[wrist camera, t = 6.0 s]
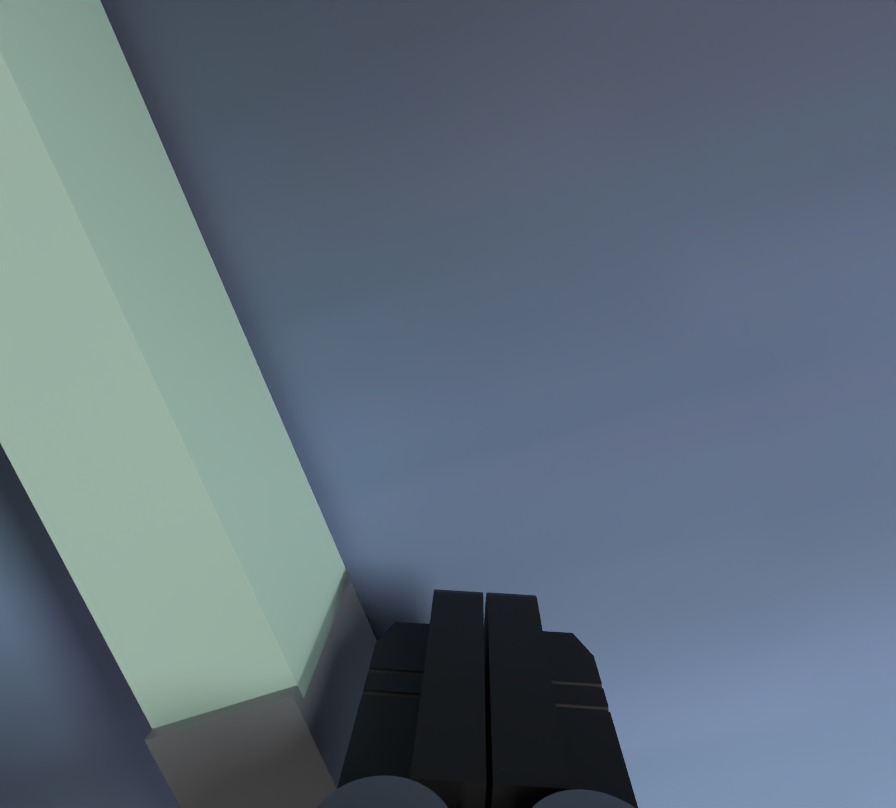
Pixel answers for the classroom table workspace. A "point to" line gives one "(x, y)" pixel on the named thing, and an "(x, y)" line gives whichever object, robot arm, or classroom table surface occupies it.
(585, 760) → the robot arm
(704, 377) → the classroom table surface
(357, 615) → the tongs arm
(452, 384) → the classroom table surface
